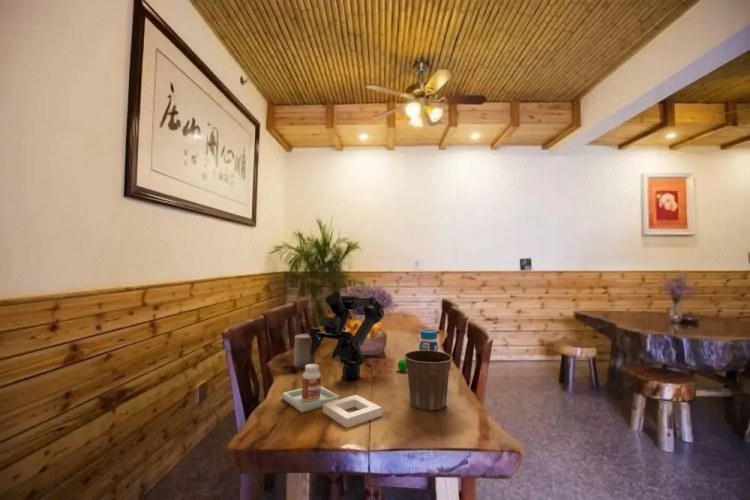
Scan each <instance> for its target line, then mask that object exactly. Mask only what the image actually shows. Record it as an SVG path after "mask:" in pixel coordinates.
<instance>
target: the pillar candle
mask: <svg viewBox="0 0 750 500" xmlns="http://www.w3.org/2000/svg"><path fill="white" fill-rule="evenodd" d="M311 346H312V339H311V337H310V336H309V334H308V333H306V332H305V333H300V334H296V335H294V347H293V348H294V350H293V351H294V353H293V355H294V356H293V359H294V360H293V366H294V367H295V368H297V367H298V368H299V369H305V366H306V365H308V364H316V363H315V362H316V352H315V353H314V354H313V355H311V354H310V352H311Z"/></svg>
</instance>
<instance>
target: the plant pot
mask: <svg viewBox="0 0 750 500" xmlns="http://www.w3.org/2000/svg"><path fill="white" fill-rule="evenodd" d="M403 357H404V360H406V368H407V370H406V371H407V378H408V380H407V381H408V390H409V402H410V404H411V406H412V407H413V408H415V409H418V408H419V410H422V411H427V412H435V411H434V410H437V411H441V410H443V409H444V408H445V407H447V398H448V397H447V396H448V386H449V385H448V384H449V376H450V375H449V374H450V371H451V363H452V360H453V356H452V355H450V354H449V353H446V352H442V351H439V350H438V351H430V350H420V349H418V350H411V351H408V352H406V353H404V355H403Z"/></svg>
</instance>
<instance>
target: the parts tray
mask: <svg viewBox="0 0 750 500" xmlns="http://www.w3.org/2000/svg"><path fill="white" fill-rule="evenodd" d="M339 399H340V395H338V394H337V393H334V392H333V391H331V390H329V389H328V388H325V387H323V386H322V385H321V388H320V399H319V400H317V401H313V402H307V401H304V400H303V399H302V388H299V389H294V390H289V391H286V392H285V391H284V392H282V400H283V401H285V402H286V403H287V404H289V405H291V407H293V408H295V409H296V410H297V411H298V412H300V413H301V414H302V413H306V412H309V411H313V410H316V409H320V408H323V404H325V403H328V402H332V401H336V400H339Z"/></svg>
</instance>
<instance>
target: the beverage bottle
mask: <svg viewBox="0 0 750 500" xmlns="http://www.w3.org/2000/svg"><path fill="white" fill-rule="evenodd" d="M437 332H438V331H437V330H434V329H421V331H420V339H422V340H421V341H420V343H419V345H418V348H419V349H418V350H430V351H439V345H438V342H437V339H438V333H437Z"/></svg>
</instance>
